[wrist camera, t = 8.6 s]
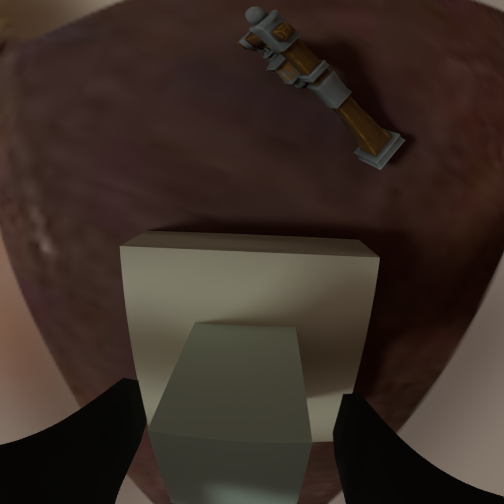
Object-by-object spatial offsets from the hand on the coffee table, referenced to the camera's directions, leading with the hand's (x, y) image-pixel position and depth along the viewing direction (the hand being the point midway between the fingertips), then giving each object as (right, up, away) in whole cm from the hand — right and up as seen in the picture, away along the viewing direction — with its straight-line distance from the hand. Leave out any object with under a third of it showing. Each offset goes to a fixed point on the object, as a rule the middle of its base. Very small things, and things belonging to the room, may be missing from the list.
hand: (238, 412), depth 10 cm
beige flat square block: (0, +2, +6) cm, 6 cm away
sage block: (0, +1, +3) cm, 3 cm away
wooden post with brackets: (+3, +12, +3) cm, 13 cm away
